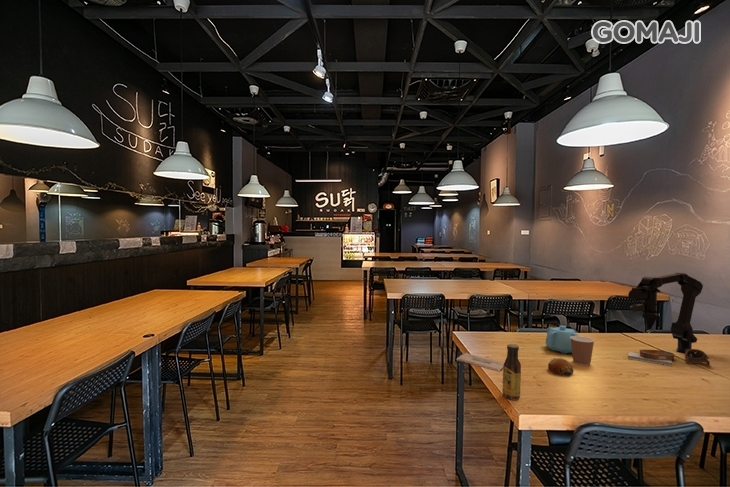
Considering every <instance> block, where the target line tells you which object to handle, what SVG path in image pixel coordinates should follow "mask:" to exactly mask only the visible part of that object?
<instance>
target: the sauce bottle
mask: <svg viewBox="0 0 730 487" xmlns="http://www.w3.org/2000/svg"><path fill="white" fill-rule="evenodd" d="M506 349H507V350H506V351H507V353H506V357H505V360H504V362H503V363H504V365H503V368H502V395H503V397H504V398H506V399H507V400H510V401H511V400H512V401H516V400H519V399H520V396H521V386H522V385H521V381H522V378H521V376H522V369H521V368H522V365H521V362H520V360H519V349H520V348H519V346H518V345H517V344H511V343H510V344H507V346H506Z"/></svg>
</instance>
